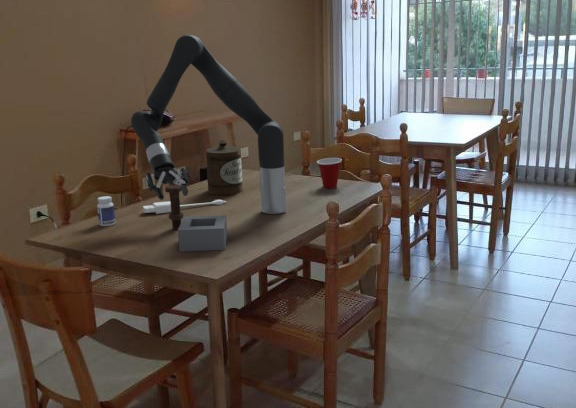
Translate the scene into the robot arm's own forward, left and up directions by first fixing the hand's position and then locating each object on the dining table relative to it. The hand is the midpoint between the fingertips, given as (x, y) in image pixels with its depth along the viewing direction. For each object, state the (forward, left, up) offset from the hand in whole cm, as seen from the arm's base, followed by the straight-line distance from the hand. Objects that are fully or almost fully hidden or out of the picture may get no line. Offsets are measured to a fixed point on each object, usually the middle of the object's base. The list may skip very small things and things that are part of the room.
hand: (174, 196), depth 207 cm
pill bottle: (+26, -8, -12) cm, 29 cm away
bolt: (0, 0, -12) cm, 12 cm away
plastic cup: (-59, -51, -12) cm, 79 cm away
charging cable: (0, -25, -12) cm, 28 cm away
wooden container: (-14, -51, -12) cm, 54 cm away
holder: (-11, +17, -11) cm, 23 cm away
